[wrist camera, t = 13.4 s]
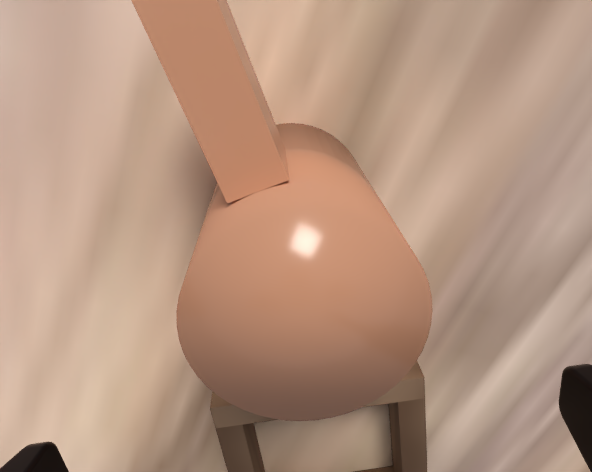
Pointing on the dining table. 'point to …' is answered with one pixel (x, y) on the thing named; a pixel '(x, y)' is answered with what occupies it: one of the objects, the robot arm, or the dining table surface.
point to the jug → (283, 243)
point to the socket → (401, 398)
